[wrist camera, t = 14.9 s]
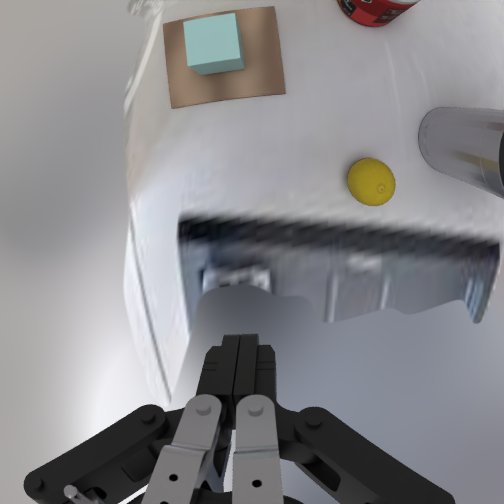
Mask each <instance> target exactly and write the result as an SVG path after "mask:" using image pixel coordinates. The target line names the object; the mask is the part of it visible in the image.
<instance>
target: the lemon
mask: <svg viewBox="0 0 504 504" xmlns="http://www.w3.org/2000/svg"><path fill="white" fill-rule="evenodd" d="M348 187H349V190H350V192H351V193H352V195H353V196H354V197H355V198H356V199H357V200H358V201H359V202H361V203H363V204H365V205H369V206H379V205H382V204H384V203H386V202H387V201H388V200H390V198H391V197H392V196H393V193H394V191H395V179H394V176H393V173H392V172H391V170H390V169H389V167H388V166H386V165H385V164H384V163H383V162H381V161H379V160H377V159H372V158H368V159H362V160H360V161H358V162H356V163H355V164H354V165H353V166H352V167H351V169H350V171H349V174H348Z"/></svg>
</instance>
